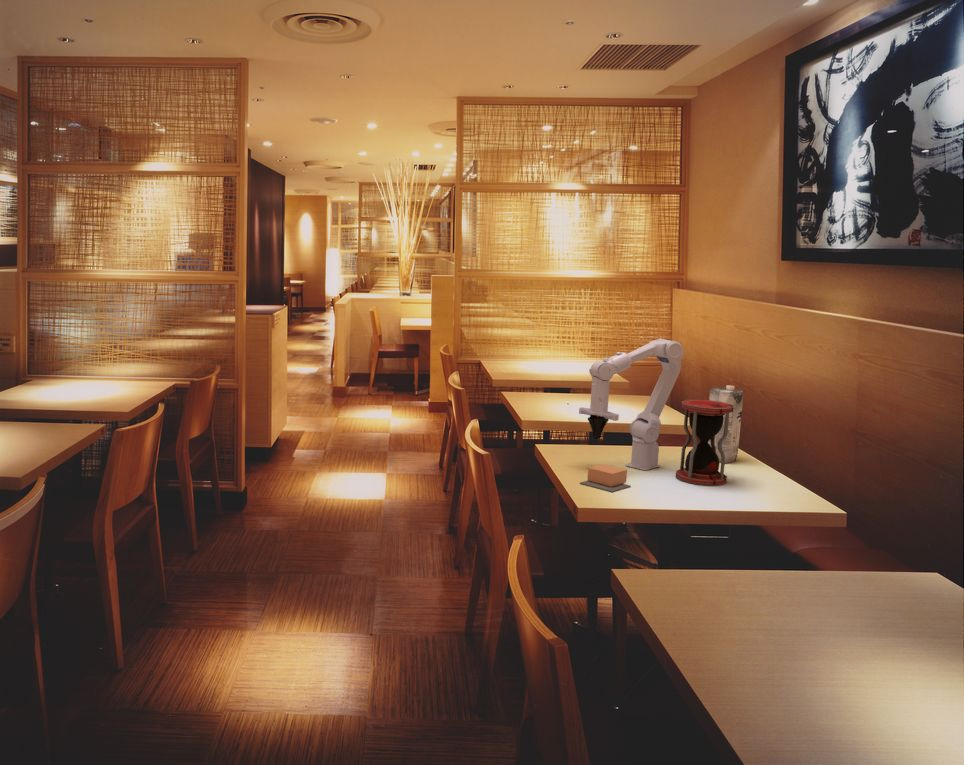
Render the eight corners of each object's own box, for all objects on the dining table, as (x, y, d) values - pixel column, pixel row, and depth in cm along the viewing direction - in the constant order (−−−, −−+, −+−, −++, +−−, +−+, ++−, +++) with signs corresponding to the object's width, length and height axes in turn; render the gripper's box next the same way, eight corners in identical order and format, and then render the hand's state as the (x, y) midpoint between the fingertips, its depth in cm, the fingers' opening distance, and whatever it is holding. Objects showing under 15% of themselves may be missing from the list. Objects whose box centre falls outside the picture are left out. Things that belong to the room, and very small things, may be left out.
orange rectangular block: (603, 464, 268) (588, 467, 262) (627, 469, 262) (612, 473, 256) (602, 477, 269) (587, 481, 263) (626, 483, 263) (611, 487, 257)
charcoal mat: (598, 478, 268) (598, 477, 268) (630, 486, 260) (630, 485, 260) (579, 483, 261) (579, 482, 261) (612, 492, 253) (612, 491, 253)
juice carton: (725, 464, 296) (732, 388, 292) (700, 458, 304) (707, 384, 300) (740, 461, 301) (747, 387, 297) (715, 455, 309) (722, 382, 305)
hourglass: (710, 488, 263) (718, 410, 259) (665, 477, 274) (672, 401, 270) (735, 480, 274) (742, 405, 270) (691, 470, 285) (697, 397, 281)
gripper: (574, 395, 278) (571, 436, 281) (611, 402, 269) (608, 444, 271) (587, 393, 284) (584, 433, 286) (623, 400, 274) (620, 441, 276)
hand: (596, 438), depth 279 cm, fingers closed
